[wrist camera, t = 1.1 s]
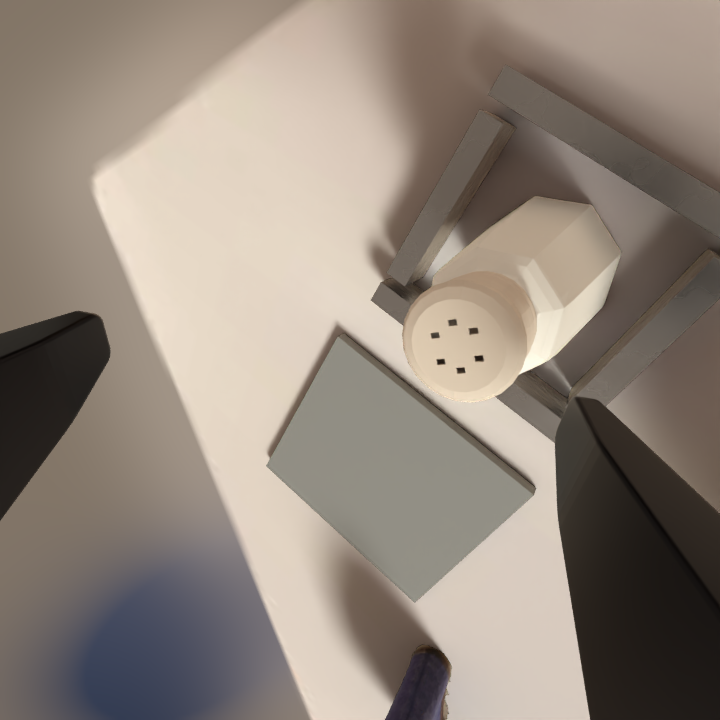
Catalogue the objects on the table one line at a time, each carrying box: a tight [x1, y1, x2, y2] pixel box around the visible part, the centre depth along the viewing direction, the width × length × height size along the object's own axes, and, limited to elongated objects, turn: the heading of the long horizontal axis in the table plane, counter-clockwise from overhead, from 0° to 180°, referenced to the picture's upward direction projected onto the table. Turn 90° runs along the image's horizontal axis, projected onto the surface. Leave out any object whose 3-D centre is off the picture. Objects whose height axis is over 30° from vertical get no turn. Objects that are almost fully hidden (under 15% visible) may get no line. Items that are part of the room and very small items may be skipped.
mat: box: [266, 333, 536, 603], centre depth 27 cm, size 12×11×1 cm
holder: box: [371, 64, 720, 443], centre depth 19 cm, size 10×10×2 cm
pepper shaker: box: [402, 196, 622, 402], centre depth 15 cm, size 5×5×11 cm
